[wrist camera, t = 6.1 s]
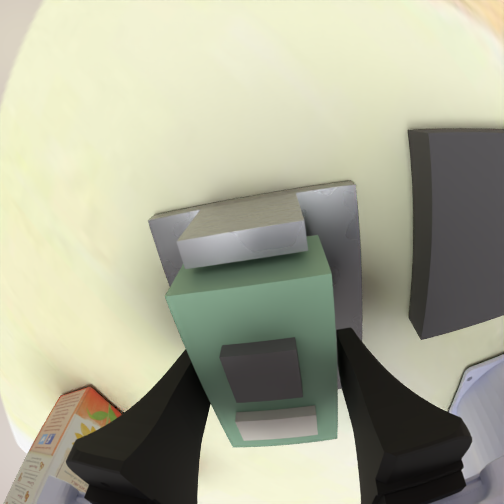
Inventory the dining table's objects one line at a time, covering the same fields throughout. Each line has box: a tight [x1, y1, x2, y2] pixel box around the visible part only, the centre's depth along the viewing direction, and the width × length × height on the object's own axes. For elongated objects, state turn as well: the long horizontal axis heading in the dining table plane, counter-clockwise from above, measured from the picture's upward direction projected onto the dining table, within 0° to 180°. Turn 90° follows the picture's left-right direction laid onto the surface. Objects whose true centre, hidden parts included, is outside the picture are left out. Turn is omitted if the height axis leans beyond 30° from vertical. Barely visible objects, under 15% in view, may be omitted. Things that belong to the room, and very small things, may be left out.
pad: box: [408, 129, 504, 340], centre depth 12 cm, size 10×7×2 cm
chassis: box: [148, 181, 362, 389], centre depth 14 cm, size 12×9×4 cm
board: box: [165, 235, 338, 447], centre depth 12 cm, size 9×5×4 cm, turn 11°
